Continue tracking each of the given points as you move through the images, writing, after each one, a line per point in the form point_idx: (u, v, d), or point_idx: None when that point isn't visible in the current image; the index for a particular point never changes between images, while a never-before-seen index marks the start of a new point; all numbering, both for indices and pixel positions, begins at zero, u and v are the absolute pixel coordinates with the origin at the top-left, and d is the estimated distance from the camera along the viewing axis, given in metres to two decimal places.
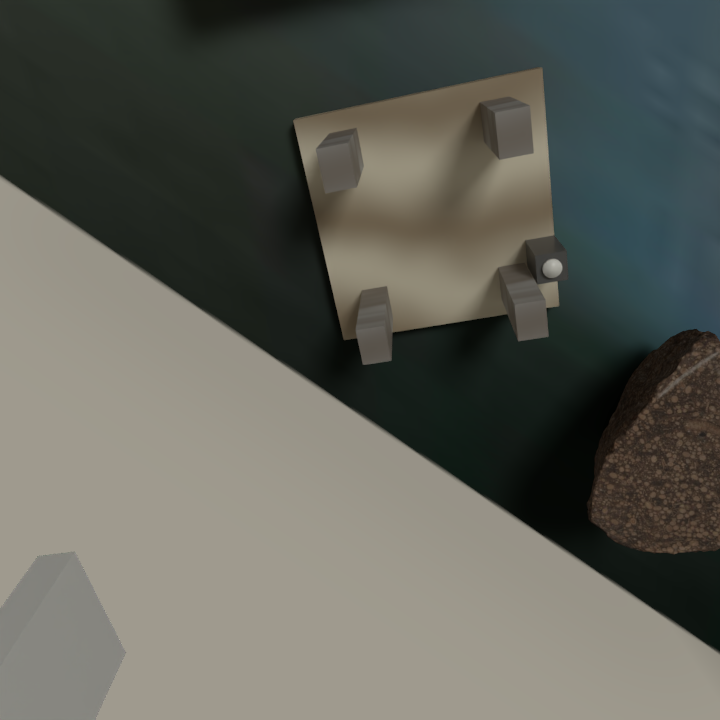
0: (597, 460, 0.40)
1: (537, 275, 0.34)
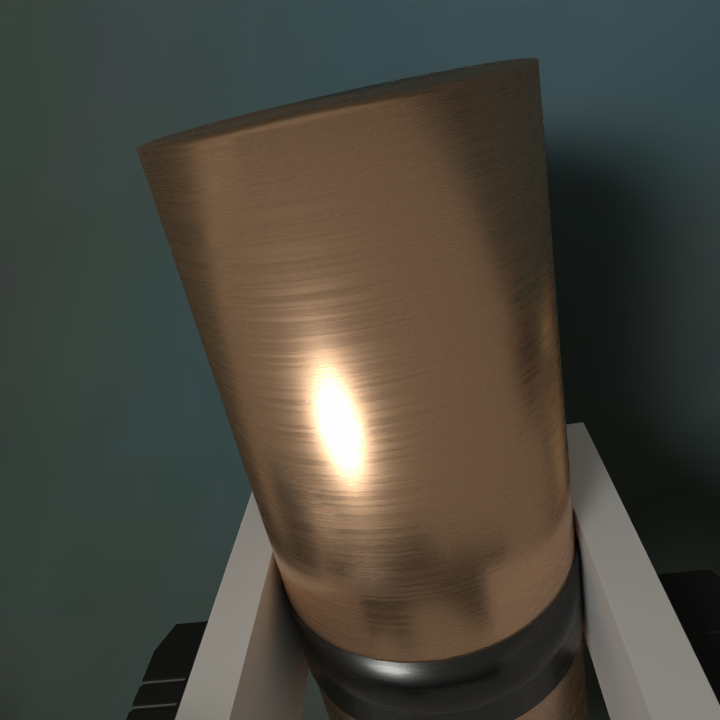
0: None
1: None
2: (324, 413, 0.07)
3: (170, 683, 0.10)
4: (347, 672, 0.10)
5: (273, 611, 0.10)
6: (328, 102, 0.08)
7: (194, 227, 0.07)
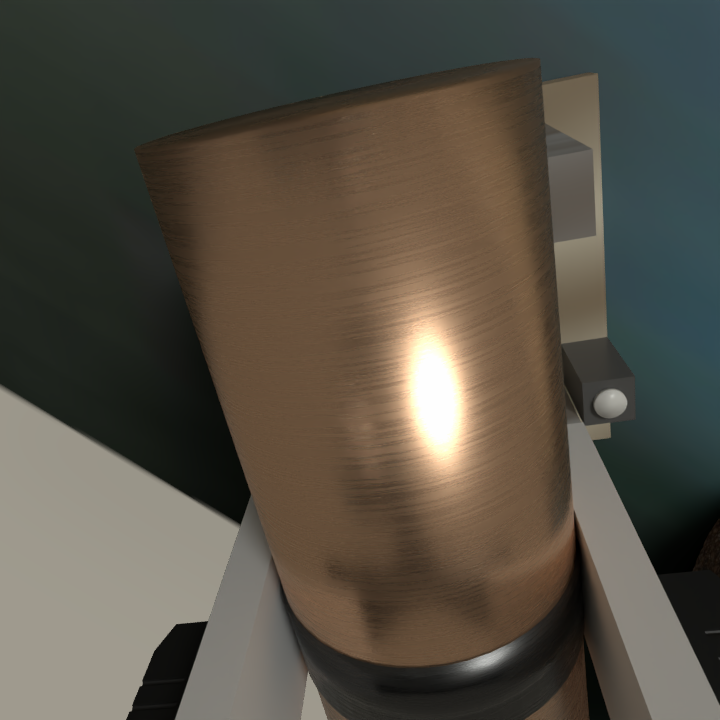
0: None
1: (584, 412, 0.21)
2: (323, 416, 0.07)
3: (170, 683, 0.10)
4: (345, 677, 0.10)
5: (273, 611, 0.10)
6: (328, 102, 0.08)
7: (192, 228, 0.07)
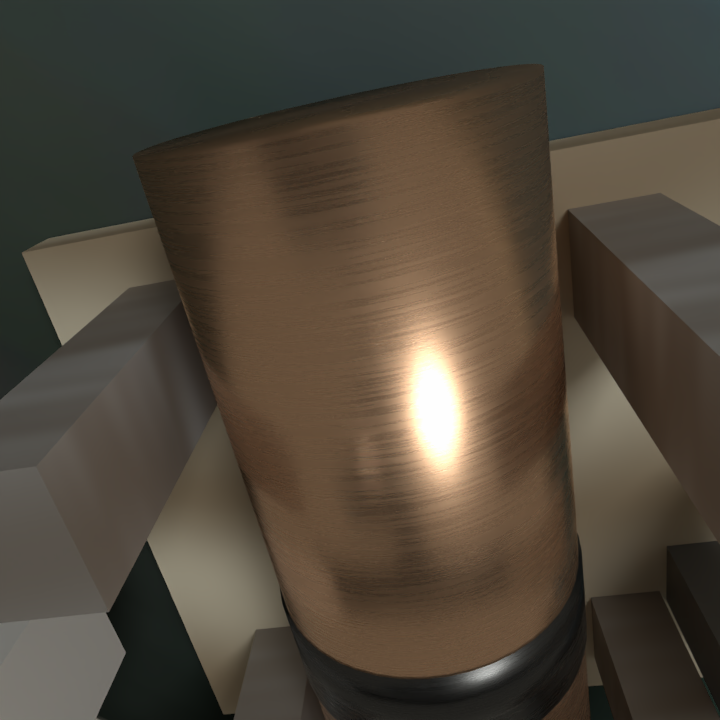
0: None
1: None
2: (324, 427, 0.07)
3: None
4: (347, 687, 0.09)
5: None
6: (328, 108, 0.08)
7: (191, 238, 0.07)
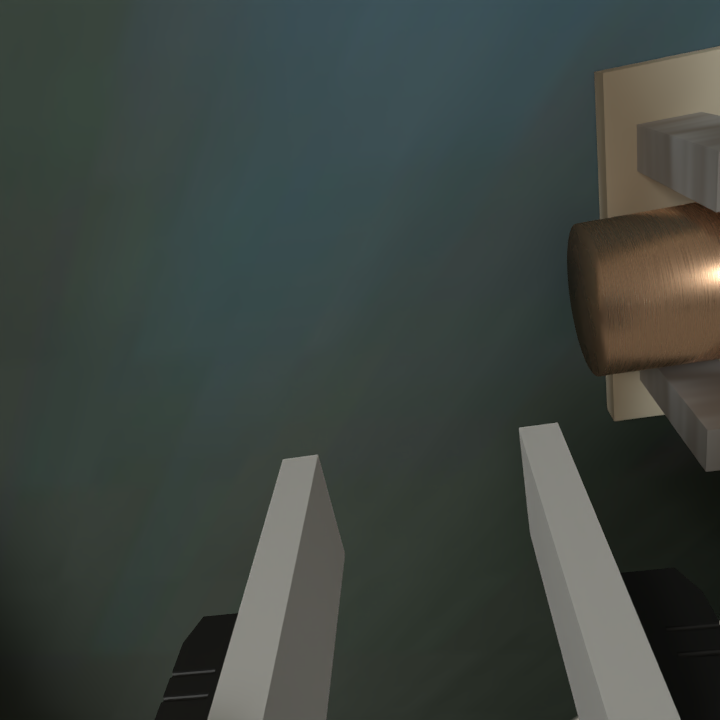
0: None
1: None
2: (718, 330, 0.18)
3: (200, 674, 0.10)
4: None
5: (301, 602, 0.10)
6: (584, 301, 0.21)
7: (633, 365, 0.20)
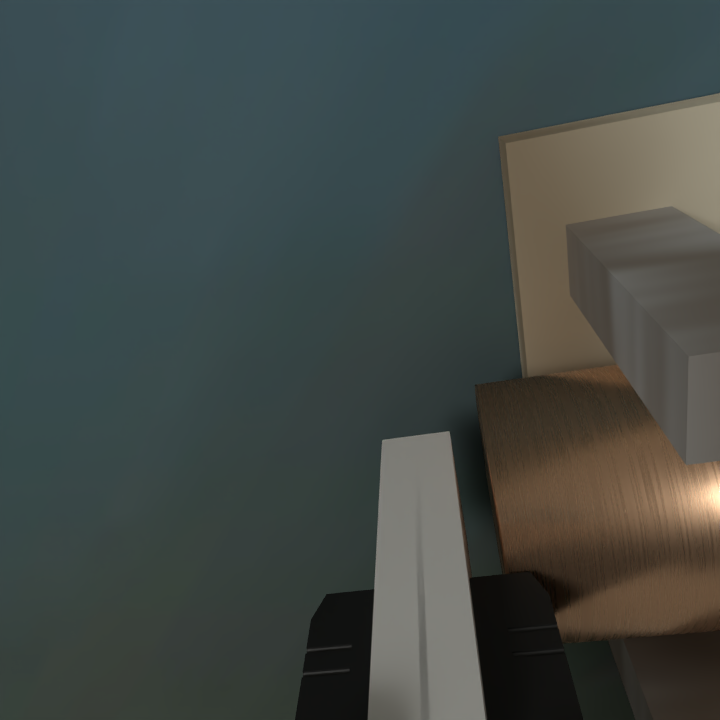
0: None
1: None
2: (709, 612, 0.10)
3: (337, 650, 0.09)
4: None
5: None
6: (494, 508, 0.13)
7: None
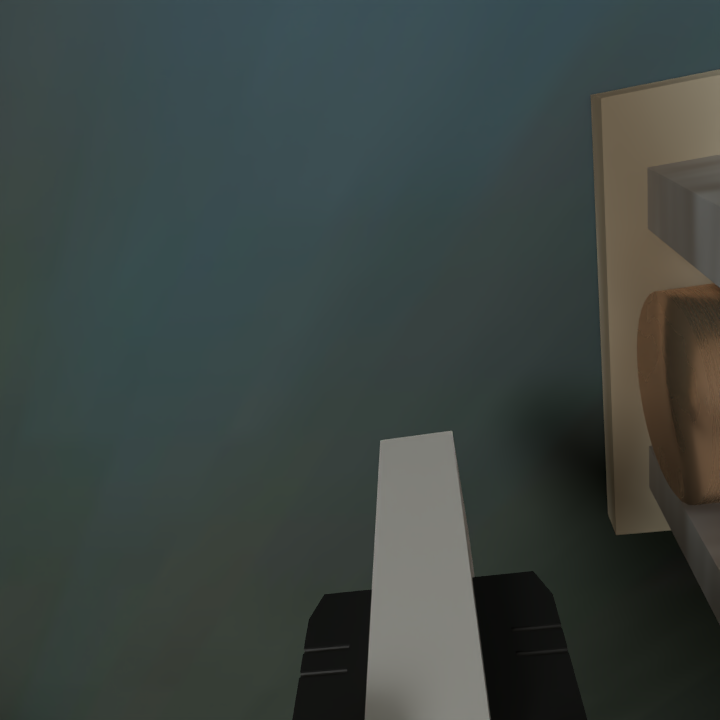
0: None
1: None
2: None
3: (335, 650, 0.09)
4: None
5: None
6: (666, 396, 0.15)
7: None
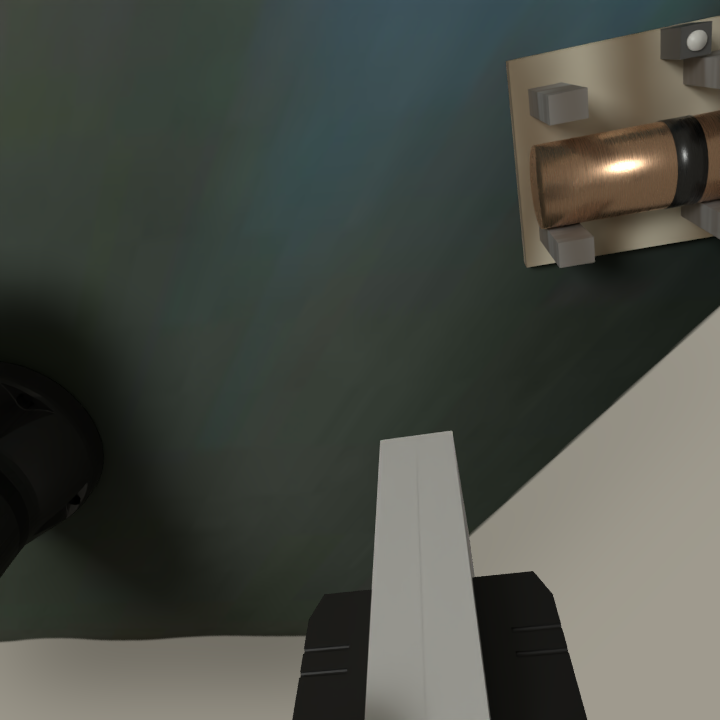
0: None
1: (701, 54, 0.35)
2: (600, 205, 0.37)
3: (334, 650, 0.09)
4: (681, 200, 0.37)
5: None
6: (537, 188, 0.39)
7: (559, 223, 0.38)
